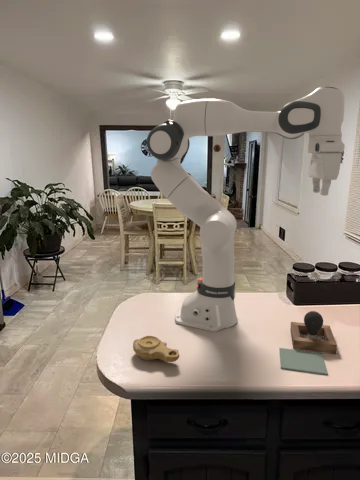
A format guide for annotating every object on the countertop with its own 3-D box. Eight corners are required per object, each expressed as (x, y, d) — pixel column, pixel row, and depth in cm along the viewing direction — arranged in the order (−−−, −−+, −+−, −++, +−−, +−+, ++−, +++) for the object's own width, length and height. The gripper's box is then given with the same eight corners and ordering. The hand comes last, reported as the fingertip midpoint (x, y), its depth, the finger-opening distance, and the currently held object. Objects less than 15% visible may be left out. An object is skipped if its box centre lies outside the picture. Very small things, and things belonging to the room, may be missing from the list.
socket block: (293, 348, 99) (293, 339, 98) (290, 329, 110) (290, 321, 110) (336, 354, 96) (337, 345, 95) (328, 334, 107) (329, 325, 107)
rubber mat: (280, 368, 90) (280, 367, 89) (279, 348, 99) (279, 347, 99) (328, 375, 87) (328, 373, 86) (322, 354, 96) (322, 353, 96)
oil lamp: (178, 370, 90) (178, 353, 88) (127, 367, 91) (126, 351, 90) (181, 348, 100) (181, 333, 99) (135, 347, 101) (135, 332, 100)
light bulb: (299, 337, 106) (301, 308, 103) (315, 336, 106) (318, 307, 104) (307, 346, 100) (309, 316, 98) (324, 345, 101) (327, 315, 98)
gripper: (305, 148, 107) (302, 191, 110) (321, 145, 87) (317, 197, 90) (325, 148, 106) (321, 191, 109) (347, 144, 86) (341, 197, 89)
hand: (319, 193), depth 100 cm, fingers open, 8 cm apart
